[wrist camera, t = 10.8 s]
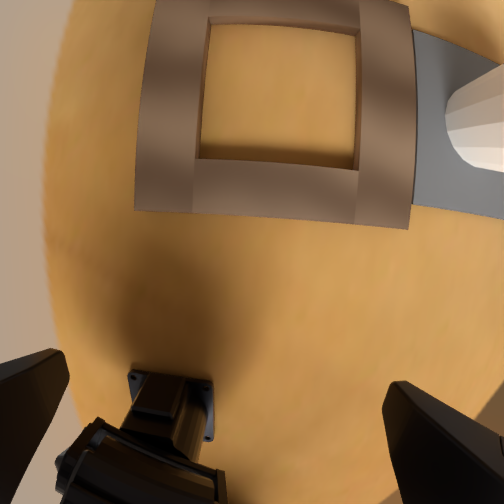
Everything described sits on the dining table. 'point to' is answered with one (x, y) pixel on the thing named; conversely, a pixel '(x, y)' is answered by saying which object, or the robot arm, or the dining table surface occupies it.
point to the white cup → (479, 121)
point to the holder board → (270, 173)
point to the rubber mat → (437, 139)
